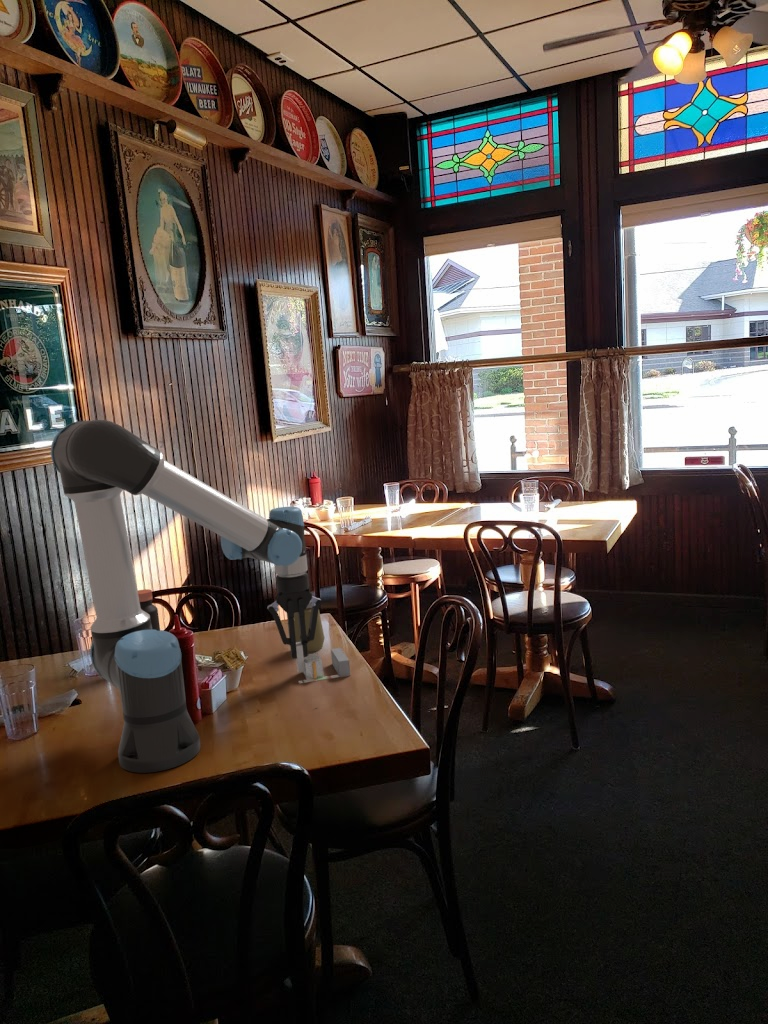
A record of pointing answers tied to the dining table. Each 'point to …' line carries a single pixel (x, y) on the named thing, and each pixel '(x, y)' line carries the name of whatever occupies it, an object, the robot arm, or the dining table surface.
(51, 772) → the dining table surface
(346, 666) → the rail
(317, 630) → the squeeze bottle
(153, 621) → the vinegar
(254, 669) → the dining table surface
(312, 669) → the gauge carriage
